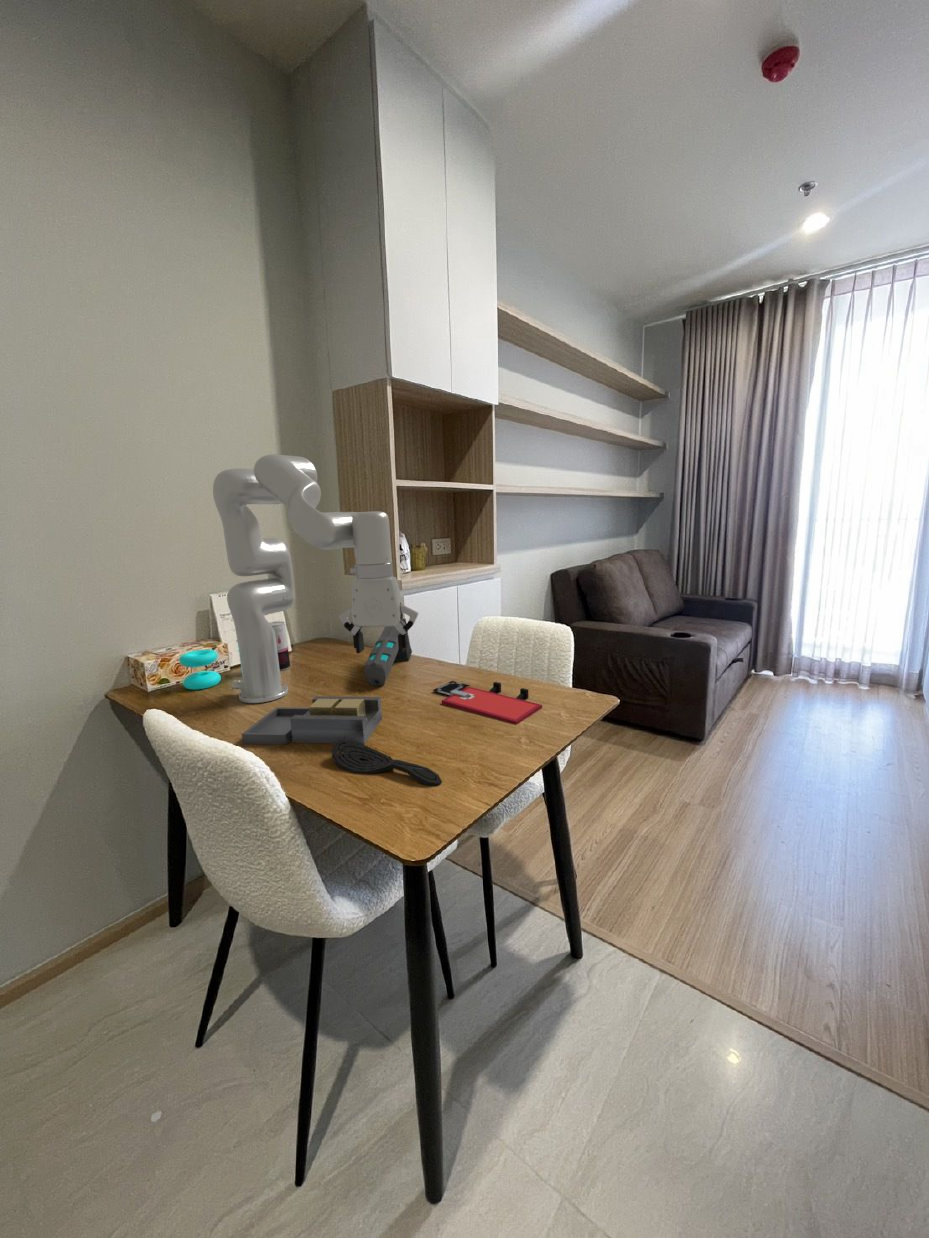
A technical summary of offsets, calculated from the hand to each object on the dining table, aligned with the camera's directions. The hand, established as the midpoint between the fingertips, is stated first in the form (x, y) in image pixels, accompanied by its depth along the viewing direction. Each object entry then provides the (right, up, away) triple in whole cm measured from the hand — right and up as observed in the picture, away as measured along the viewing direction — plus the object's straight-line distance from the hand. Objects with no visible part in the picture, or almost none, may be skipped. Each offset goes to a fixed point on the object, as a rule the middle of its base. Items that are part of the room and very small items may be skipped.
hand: (381, 651), depth 106 cm
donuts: (-60, -13, +41) cm, 74 cm away
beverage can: (-42, -9, +54) cm, 69 cm away
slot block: (-10, -18, +5) cm, 22 cm away
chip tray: (-24, -18, +7) cm, 31 cm away
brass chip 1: (-13, -15, +5) cm, 21 cm away
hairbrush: (+3, -22, -12) cm, 26 cm away
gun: (-5, -9, +47) cm, 48 cm away
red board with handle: (+23, -14, +19) cm, 33 cm away
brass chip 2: (-7, -15, +4) cm, 17 cm away
